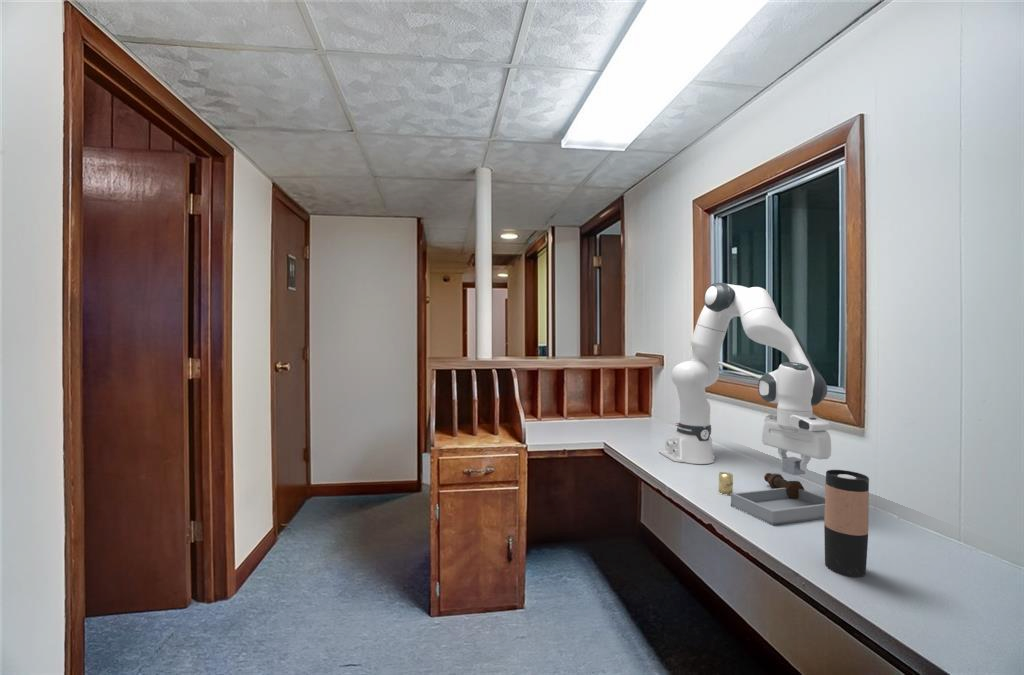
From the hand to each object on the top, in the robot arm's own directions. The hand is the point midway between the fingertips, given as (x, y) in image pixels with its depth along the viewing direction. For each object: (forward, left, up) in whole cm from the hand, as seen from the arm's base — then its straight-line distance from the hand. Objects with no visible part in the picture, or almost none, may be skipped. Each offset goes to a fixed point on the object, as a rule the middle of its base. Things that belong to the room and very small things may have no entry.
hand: (793, 467), depth 139 cm
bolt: (-11, +7, -11) cm, 17 cm away
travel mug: (+32, -21, -12) cm, 40 cm away
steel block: (0, 0, -2) cm, 2 cm away
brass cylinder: (-15, -10, -11) cm, 22 cm away
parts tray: (+2, -5, -11) cm, 13 cm away
